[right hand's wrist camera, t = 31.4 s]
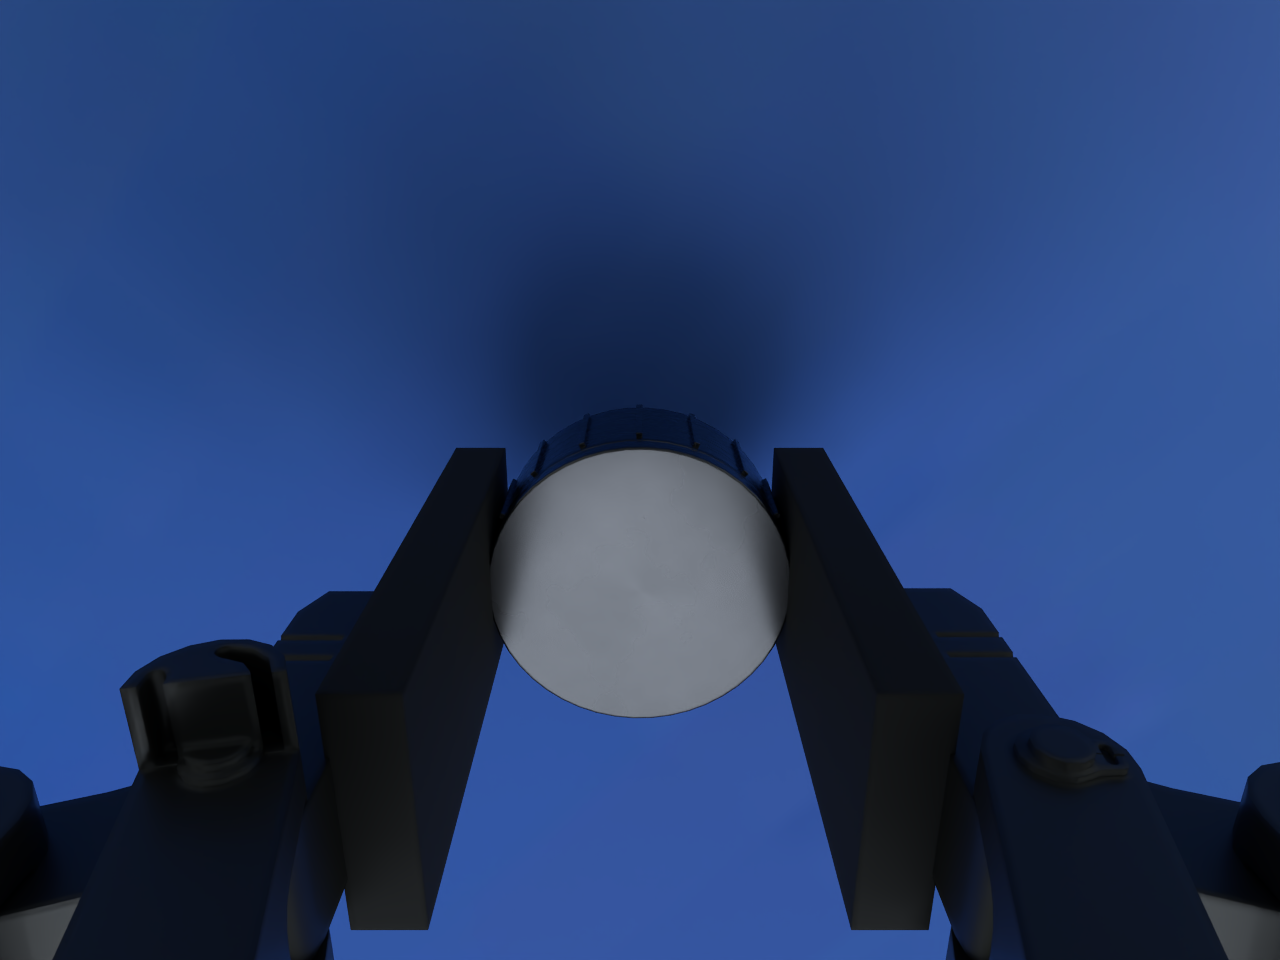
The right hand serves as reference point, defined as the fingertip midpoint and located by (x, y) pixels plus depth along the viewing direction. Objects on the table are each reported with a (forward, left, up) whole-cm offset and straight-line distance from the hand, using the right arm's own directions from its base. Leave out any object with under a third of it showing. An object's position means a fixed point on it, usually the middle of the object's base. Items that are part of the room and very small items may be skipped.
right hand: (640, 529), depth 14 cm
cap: (0, 0, +2) cm, 2 cm away
